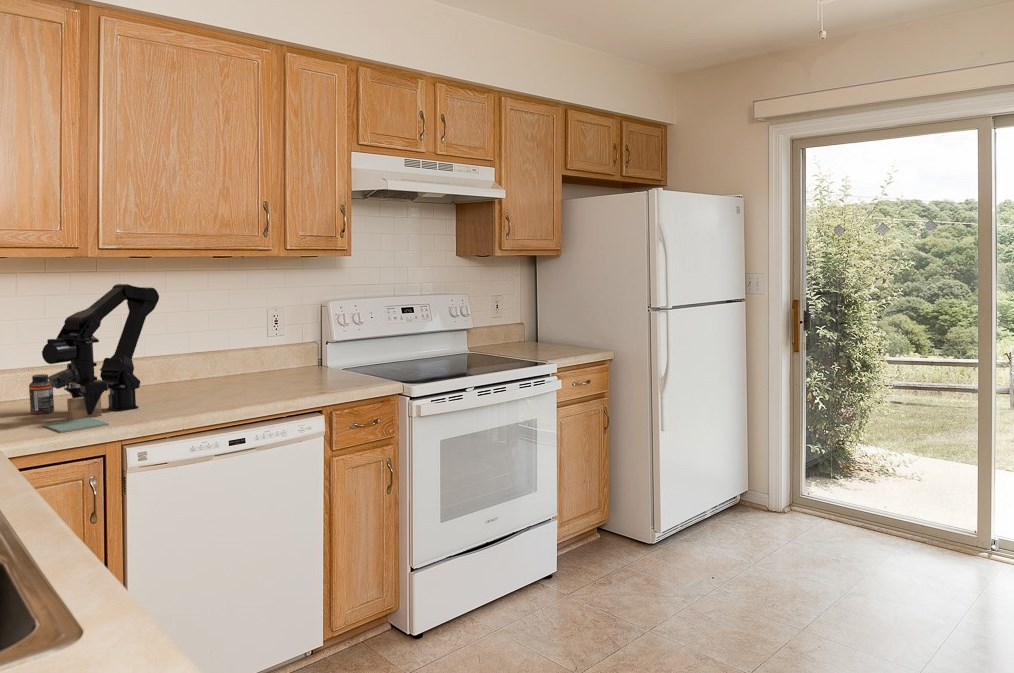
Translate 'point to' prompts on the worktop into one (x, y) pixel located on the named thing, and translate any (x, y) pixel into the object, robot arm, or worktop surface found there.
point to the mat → (75, 424)
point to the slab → (81, 409)
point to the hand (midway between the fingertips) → (84, 413)
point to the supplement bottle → (41, 395)
